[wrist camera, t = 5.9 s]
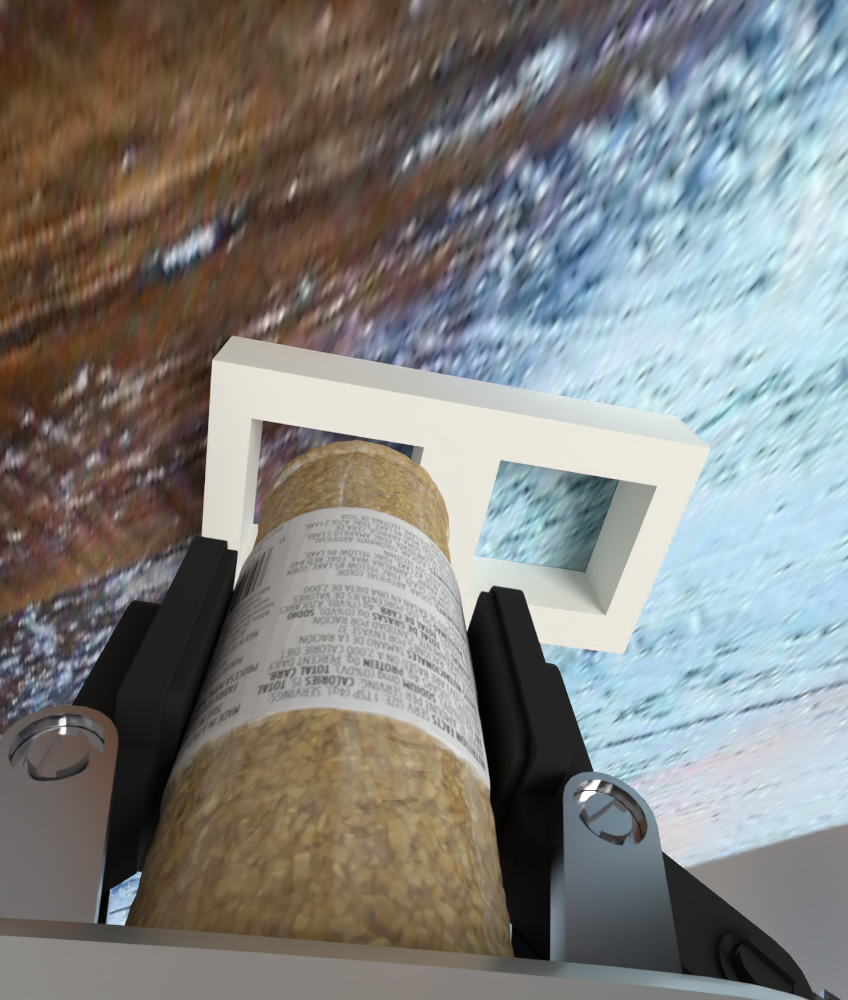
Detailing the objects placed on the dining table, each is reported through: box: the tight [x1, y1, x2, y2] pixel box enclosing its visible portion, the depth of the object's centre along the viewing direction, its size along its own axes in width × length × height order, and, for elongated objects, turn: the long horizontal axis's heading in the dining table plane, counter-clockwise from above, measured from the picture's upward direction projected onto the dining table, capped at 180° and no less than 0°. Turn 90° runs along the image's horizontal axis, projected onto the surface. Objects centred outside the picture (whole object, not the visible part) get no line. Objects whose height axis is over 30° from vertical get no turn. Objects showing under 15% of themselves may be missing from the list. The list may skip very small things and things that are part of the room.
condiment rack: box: [202, 336, 711, 654], centre depth 33 cm, size 12×22×4 cm, turn 79°
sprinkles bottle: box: [125, 440, 515, 958], centre depth 10 cm, size 5×5×14 cm
